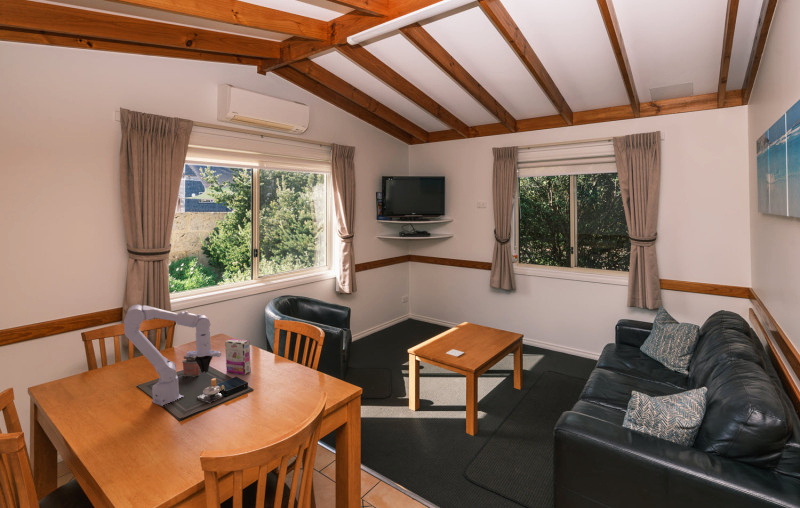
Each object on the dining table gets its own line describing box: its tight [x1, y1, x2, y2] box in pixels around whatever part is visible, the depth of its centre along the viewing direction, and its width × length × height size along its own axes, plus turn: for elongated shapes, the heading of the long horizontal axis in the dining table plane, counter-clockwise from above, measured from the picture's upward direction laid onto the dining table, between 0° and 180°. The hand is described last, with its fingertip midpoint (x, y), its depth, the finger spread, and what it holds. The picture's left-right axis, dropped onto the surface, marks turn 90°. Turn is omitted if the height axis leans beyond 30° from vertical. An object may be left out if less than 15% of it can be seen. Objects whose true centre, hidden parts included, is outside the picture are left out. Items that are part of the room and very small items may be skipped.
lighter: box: [181, 355, 200, 377], centre depth 198 cm, size 8×3×10 cm, turn 84°
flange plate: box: [202, 377, 222, 395], centre depth 176 cm, size 8×7×4 cm
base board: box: [196, 384, 225, 402], centre depth 176 cm, size 9×9×4 cm
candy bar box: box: [224, 338, 252, 376], centre depth 202 cm, size 11×5×16 cm, turn 73°
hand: (204, 371), depth 180 cm, fingers closed
